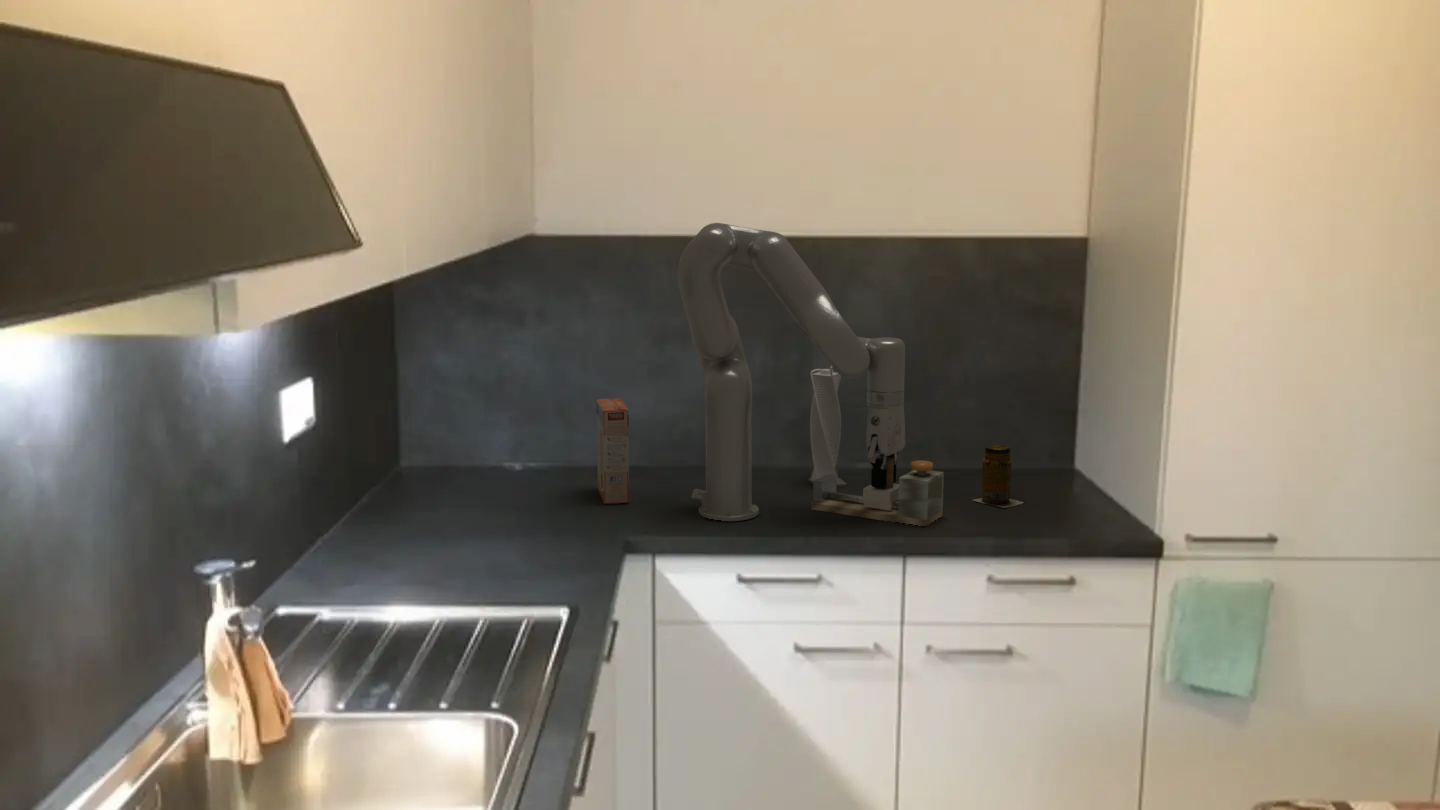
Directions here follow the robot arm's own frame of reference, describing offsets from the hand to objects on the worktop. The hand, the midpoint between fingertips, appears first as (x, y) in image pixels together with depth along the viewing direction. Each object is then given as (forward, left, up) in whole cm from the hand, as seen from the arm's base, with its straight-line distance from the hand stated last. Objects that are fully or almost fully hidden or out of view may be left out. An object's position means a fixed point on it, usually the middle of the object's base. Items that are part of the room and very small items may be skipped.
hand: (883, 483), depth 265 cm
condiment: (+17, +21, -7) cm, 28 cm away
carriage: (0, 0, -5) cm, 5 cm away
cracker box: (-57, -18, -7) cm, 60 cm away
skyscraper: (-22, +16, -7) cm, 28 cm away
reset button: (+8, 0, +2) cm, 9 cm away
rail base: (-2, 0, -6) cm, 7 cm away
